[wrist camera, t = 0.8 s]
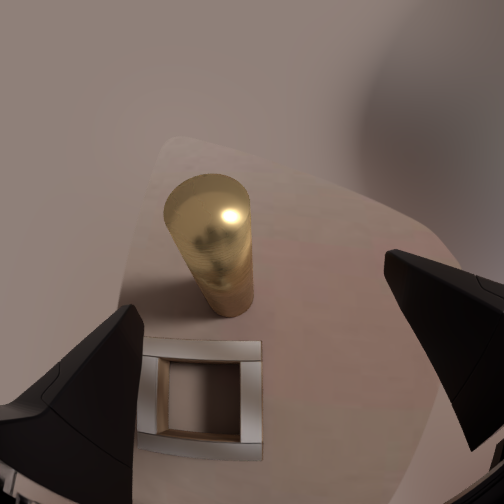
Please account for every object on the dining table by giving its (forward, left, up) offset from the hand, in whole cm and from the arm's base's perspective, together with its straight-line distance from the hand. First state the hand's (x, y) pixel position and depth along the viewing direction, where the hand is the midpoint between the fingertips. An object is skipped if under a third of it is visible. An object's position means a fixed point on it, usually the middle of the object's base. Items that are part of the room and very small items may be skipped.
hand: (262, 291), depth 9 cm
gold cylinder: (+4, +2, -14) cm, 15 cm away
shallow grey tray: (-5, +4, -14) cm, 15 cm away
